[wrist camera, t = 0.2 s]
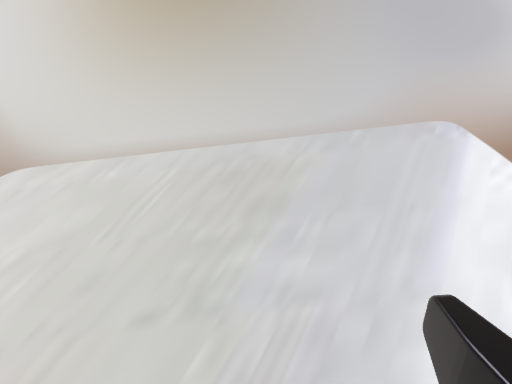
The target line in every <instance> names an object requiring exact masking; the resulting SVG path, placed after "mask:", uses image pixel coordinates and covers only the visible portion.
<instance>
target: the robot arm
mask: <svg viewBox="0 0 512 384" xmlns="http://www.w3.org/2000/svg"><path fill="white" fill-rule="evenodd" d="M423 333H424V337H425V340H426V344H427V347H428V350H429V353H430V356H431V360H432V363H433V366H434V369H435V372H436V376H437V379H438V382H439V384H512V338H511V337H509V336H508V335H506V334H505V333H504V332H502V331H501V330H500V329H498V328H497V327H496V326H494V325H493V324H492V323H490V322H489V321H487V320H486V319H485V318H483V317H482V316H481V315H479V314H478V313H477V312H475V311H474V310H472V309H471V308H470V307H468V306H467V305H466V304H464V303H463V302H462V301H460V300H459V299H458V298H456V297H455V296H452V295H434V296H432V297H431V298H430V299H429V301H428V305H427V309H426V313H425V317H424V322H423Z"/></svg>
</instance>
